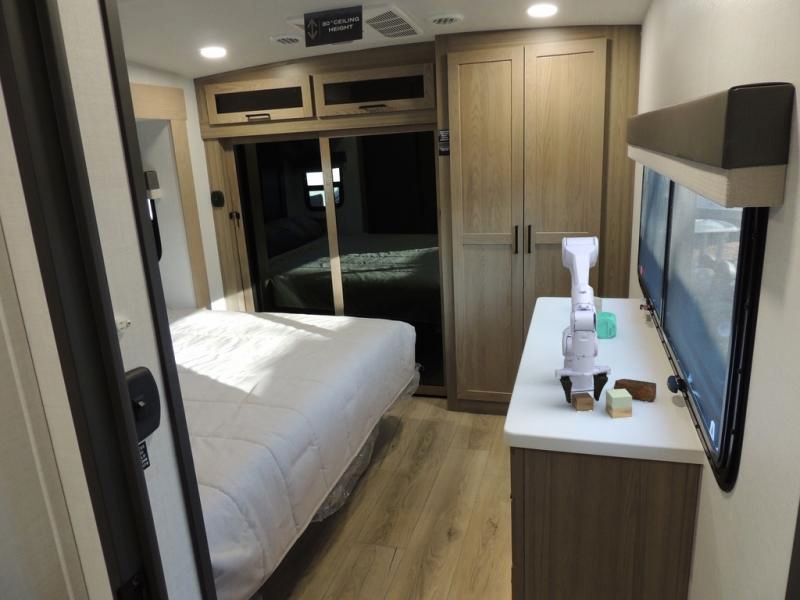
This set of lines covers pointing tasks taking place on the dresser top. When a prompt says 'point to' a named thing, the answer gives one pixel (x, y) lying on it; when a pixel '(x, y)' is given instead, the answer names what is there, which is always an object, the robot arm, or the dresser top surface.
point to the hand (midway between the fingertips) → (582, 400)
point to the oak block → (618, 411)
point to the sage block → (618, 398)
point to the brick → (638, 389)
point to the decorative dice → (606, 325)
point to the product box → (598, 304)
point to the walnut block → (582, 401)
